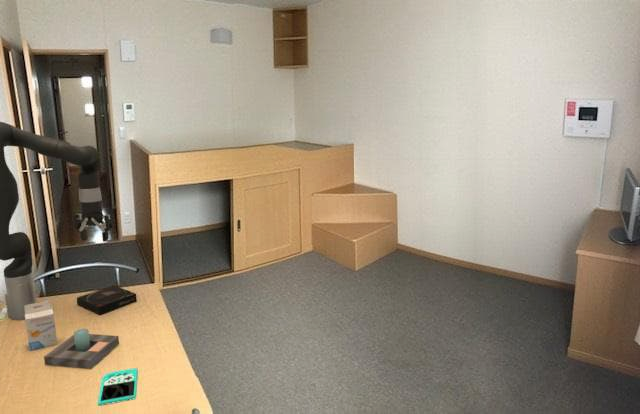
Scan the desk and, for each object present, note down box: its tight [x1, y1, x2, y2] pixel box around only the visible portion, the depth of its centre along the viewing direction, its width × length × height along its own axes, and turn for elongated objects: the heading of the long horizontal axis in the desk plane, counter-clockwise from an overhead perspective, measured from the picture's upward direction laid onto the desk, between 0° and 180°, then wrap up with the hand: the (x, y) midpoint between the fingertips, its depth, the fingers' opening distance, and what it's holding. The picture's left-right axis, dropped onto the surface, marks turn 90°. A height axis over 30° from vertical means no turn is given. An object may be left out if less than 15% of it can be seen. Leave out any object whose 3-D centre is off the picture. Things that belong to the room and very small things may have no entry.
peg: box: [73, 328, 91, 352], centre depth 159 cm, size 4×4×8 cm
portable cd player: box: [76, 285, 137, 316], centre depth 199 cm, size 16×17×4 cm
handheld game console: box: [97, 367, 138, 406], centre depth 141 cm, size 10×16×1 cm, turn 19°
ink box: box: [24, 300, 58, 351], centre depth 164 cm, size 8×5×15 cm, turn 123°
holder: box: [43, 333, 120, 370], centre depth 159 cm, size 16×16×3 cm
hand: (95, 240), depth 184 cm, fingers open, 8 cm apart
